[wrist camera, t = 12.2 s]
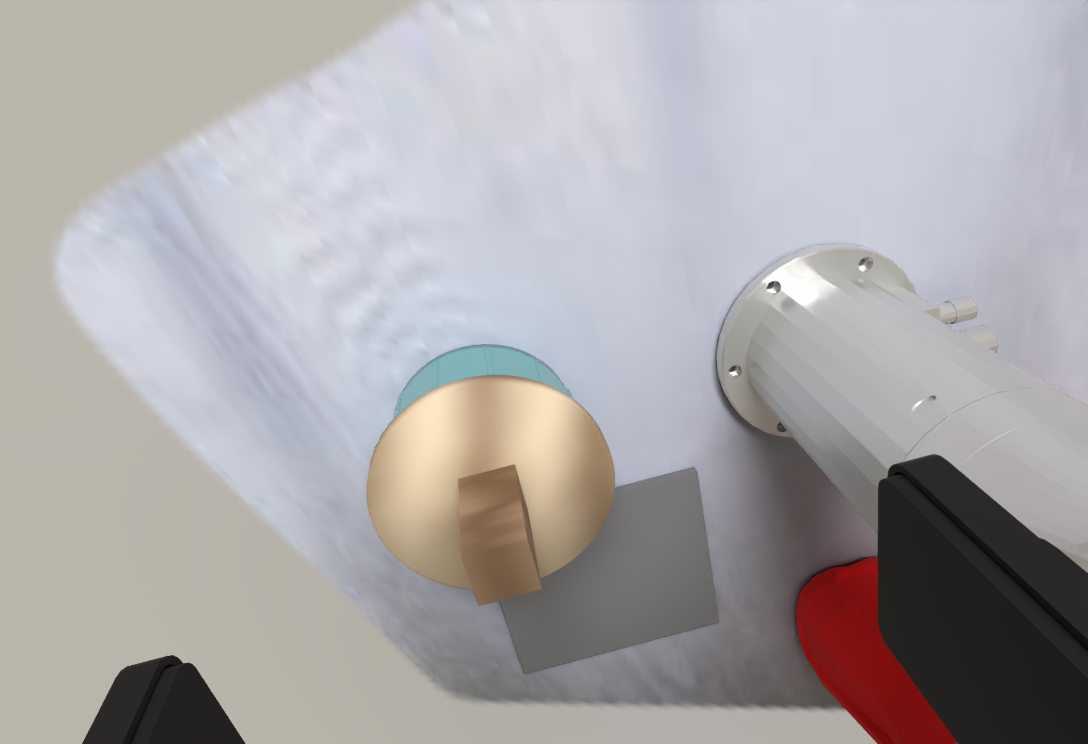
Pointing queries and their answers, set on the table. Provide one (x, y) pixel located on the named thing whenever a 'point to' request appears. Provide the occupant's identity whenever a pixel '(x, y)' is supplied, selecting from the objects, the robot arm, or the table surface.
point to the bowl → (476, 370)
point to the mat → (623, 579)
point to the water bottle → (862, 657)
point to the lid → (490, 484)
